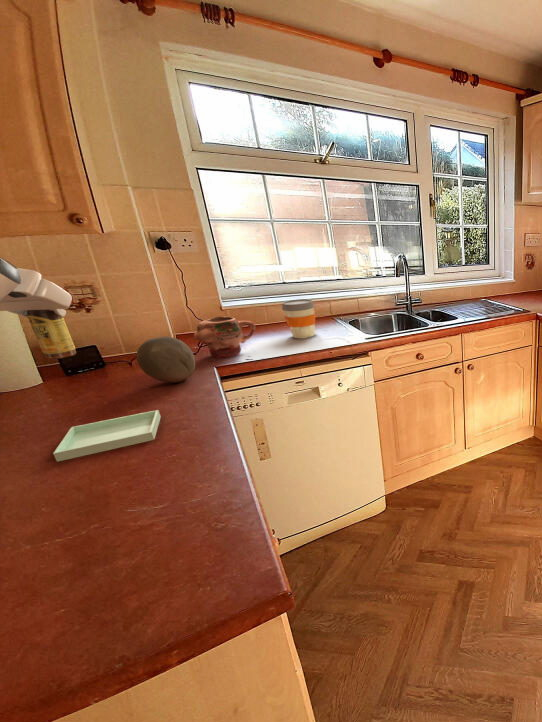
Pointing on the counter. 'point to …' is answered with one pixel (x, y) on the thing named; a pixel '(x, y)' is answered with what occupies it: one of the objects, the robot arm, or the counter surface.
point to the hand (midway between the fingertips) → (47, 314)
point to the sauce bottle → (51, 334)
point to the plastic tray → (108, 435)
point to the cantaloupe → (166, 359)
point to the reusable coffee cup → (300, 317)
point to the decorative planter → (223, 335)
